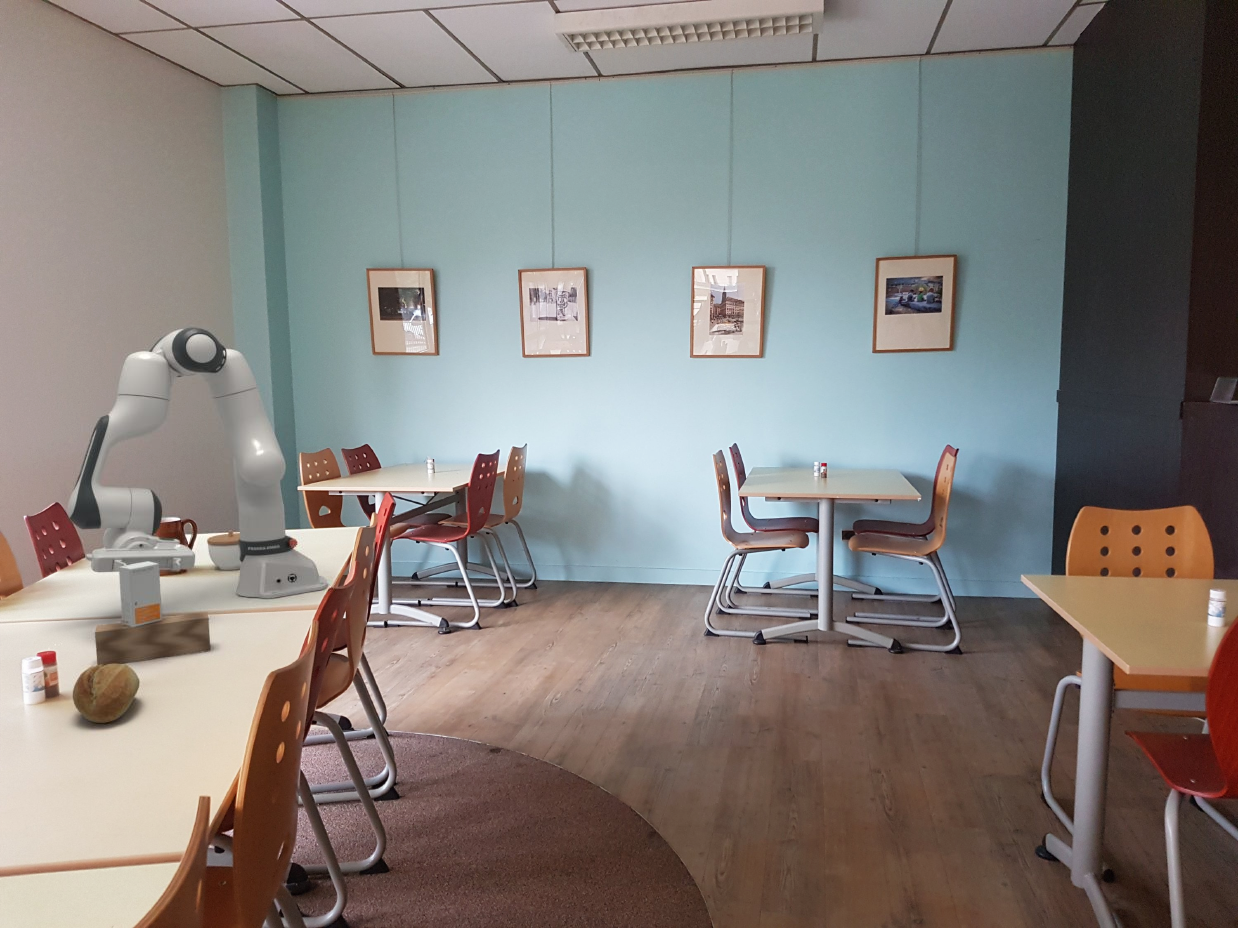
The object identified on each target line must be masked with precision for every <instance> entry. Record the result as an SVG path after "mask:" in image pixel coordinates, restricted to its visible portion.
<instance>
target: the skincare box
mask: <svg viewBox="0 0 1238 928" xmlns="http://www.w3.org/2000/svg"><path fill="white" fill-rule="evenodd" d="M118 573H119V589H120V590H119V591H120V604H121V605H120V606H121V607H120V608H121V622H122V624H123V625H126V626H130V627H136V626H140V625H145V624H149V623H153V622H158V621H162V617H163V616H162V601H161V600H162V599H161V598H162V597H161V596H162V595H161V580H160V579H161V577H160V570H159V564H158V563H153V562H149V561H147V562H142V563H136V564H131V565H127V566H121V567H119V572H118Z"/></svg>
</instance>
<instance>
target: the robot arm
mask: <svg viewBox="0 0 1238 928" xmlns="http://www.w3.org/2000/svg"><path fill="white" fill-rule="evenodd" d="M194 375H198V376H200V377H201V378H202V379H203V380H204V382H205V383H206V385H207V386H208V389H209V393H210V395H211V398H212V402H213V406H214V407H215V410H216V414H217V417H218V420H219V422H220V426H221V428H222V431H223V433H224V436H225V438H226V441H227V442H228V445H229V448H230V451H231V453H232V455H233V460H232V464H233V467H232V468H233V475H234V477H233V478H234V485H235V494H236V495H235V496H236V501H237V509H238V525H239V526H238V527H239V528H238V529H239V533H240V539H239V544H238V553H239V559H240V561H241V563H240V569H239V577H238V583H237V587H236V592H235V594H237V596H242V597H250V598H260V599H274V598H278V597H279V598H280V597H285V596H292V595H298V594H303V593H308V592H315V591H320V590H325V589H326V588H327V587H328V585H329V584H328V580H327V579H326V578H325V577H323V576H320V575H319V571H318V570H319V569H318V568H317V565H316V563H315V562H314V560H312V559H311V558H309V557H308V556H306V555H305V554H303V553H301V552H299V551H298V550H296V549H295V548H296V547H297V546H298V541H297V539H296V538H293V537H291V536H289V535H287V534H286V521H285V517H286V515H285V505H284V501H283V496H282V494H283V493H282V488H281V480H283V478H284V475H285V474H286V468H287V466H286V461H285V457H284V455H283V453H282V449H281V446H280V444H279V442H278V438H277V437H276V434H275V432H274V430H273V427H272V424H271V422H270V420H269V418H268V415H267V412H266V409H265V406H264V403H263V400H262V396H261V394H260V391H259V388H258V385H257V382H256V381H257V380H256V379H255V377H254V375H253V371H252V370H251V367H250V366H249V364H248V362H247V360H246V358H245V357H244V355H243V353H241V352H240V351H238V350H236V349H232V348H226V347H225V346H224V345H222V343H221V342H220V341H219V340H218V338H217V337H216V336H215V335H213V333H212V332H209V330H206V329H204V328H201V327H196V326H195V327H186V328H181V329H177V330H174V331H172V332H170V333H168V334H166V335H164V336H161V338H159V339H158V340H157V341H156V342H155V343H154V345H153V346H152V347H151V349H149V351H143V350H141V351H137V352H133V353H131V354H128V356H126V359H125V361H124V363H123V366H122V368H121V372H120V377H119V382H118V386H117V393H116V400H115V403H114V406H113V408H112V409H111V410H110V412H109V413H108V414H105V415H103V416H101V417H99V419H98V420H97V423H96V424H95V426H94V429H93V431H92V434H91V437H90V440H89V443H88V446H87V448H86V451H85V455H84V459H83V461H82V465H81V467H80V471H79V474H78V477H77V480H76V483H75V485H74V488H73V490H72V493H71V494H70V497H69V499H68V502H67V507H66V508H67V509H66V512H67V518H68V520H69V521H71V523H72V524H74V525H75V526H76V527H78V528H79V529H81V530H99V529H105V531H104V534H103V537H102V543H103V547H104V548H97V549H93V550H92V553H86V554H85V559H86V560H87V561H90V562H91V563H90V564H91V565H90V567H91V570H92V571H93V572H95V573H117V572H118V573H119V567H121V566H127V565H131V564H136V563H142V562H147V561H149V562H153V563H158V564H159V571H170V572H172V573H173V572H180V571H181V570H193V568H194V567H195V563H196V553H195V551H193V550H192V549H191V548H190V547H188V546H186V545H185V544H184V545H183V544H182V543H181V540H180V539H177V538H168V537H159V536H154V535H155V534H156V533H157V532H158V531H159V529H160V527H161V523H162V519H163V518H162V517H163V507H162V502H161V500H160V498H159V496H158V495H157V494H156V493H155V492H154V491H153V490H152V489H151V488H141V487H129V486H128V487H124V486H123V487H121V486H108V485H107V486H105V485H102V484H101V479H102V476H103V472H104V471H105V467H106V463H107V459H108V456H109V453H110V452H111V450H112V449H113V448H114V447H115V446H116V445H118V444H119V443H122V442H125V441H129V440H132V439H136V438H141V437H145V436H149V435H151V434H154V433H156V432H157V431H159V430H161V429H162V428H163V427H164V426H165V424H166V423H167V421H168V417H169V414H170V409H171V395H172V388H173V384H174V381H175V380H176V379H177V378H180V377H188V376H189V377H190V376H194Z"/></svg>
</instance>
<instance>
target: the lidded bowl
mask: <svg viewBox="0 0 1238 928" xmlns="http://www.w3.org/2000/svg"><path fill="white" fill-rule="evenodd" d="M227 531H228V532H227V533H225V534H219V535H214V536H211V537H210V536H209V537H208V538H207V540H206V541H207V549H208V554H209V555H208V556H209V558H210V560H211V561H212V563H213V564H214V565H215V566H216V567H217V568H218V569H219V570H221V571H236V570H240V563H241V561H240V559H239V553H238V544H239V539H240V532H238V533H237V532H235V533H234V531H233V530H227Z"/></svg>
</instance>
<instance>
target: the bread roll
mask: <svg viewBox="0 0 1238 928" xmlns="http://www.w3.org/2000/svg"><path fill="white" fill-rule="evenodd" d="M139 688H140V678H139V677H138V674H137V672H135V670H134V669H133V668H131V667H130V666H129V665H127V663H121V664H115V663H114V664H107V665H105V666H104V664H100V665H95V666H90V667H88V668H87V669H86V670H84V671H83V672H81V674H80V676H79V677H78V678H77V680H76V682H75V684H74V686H73V689H72V700H73V704H74V706H75V708H76V709H77V711H78V712H79V713H80V714H81V716H83V717H84V718H85V719H86V720H88V721H91V722H94V723H98V724H99V723H100V724H101V723H102V724H103V723H104V724H105V723H110V722H112V721H115V720H118V719H119V718H120V717H121V716H123V715H124V714H125V713H126V712H127V710H128V709H129V708H130V706H131V705H132V703H133V701H134V699H135V696H136V695H137V693H138V690H139Z"/></svg>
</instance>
